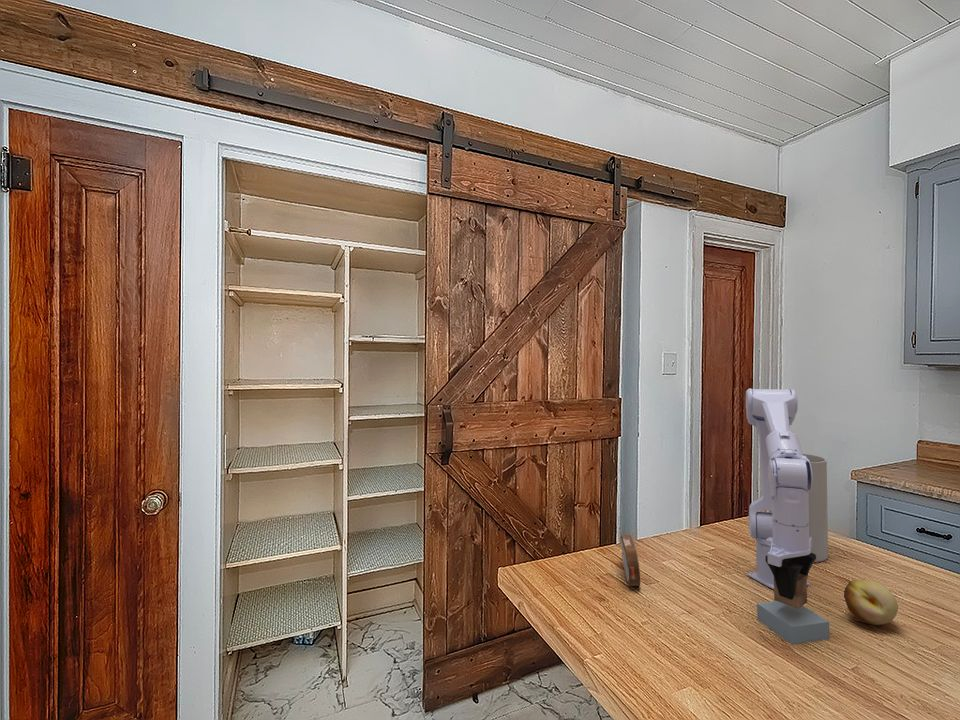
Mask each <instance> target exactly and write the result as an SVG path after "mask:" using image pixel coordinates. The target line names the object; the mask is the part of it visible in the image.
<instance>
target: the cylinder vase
mask: <svg viewBox="0 0 960 720" xmlns="http://www.w3.org/2000/svg"><path fill="white" fill-rule="evenodd" d="M802 454H803V456H806V458H807V459H809V461H810V464H811V468H812V474H813V483H812V489H811V490H808V488H807V489H806V490H807V491H808V502H809V503H808V505H809V537H812V547H811V553H813V554H815V555H816V560H815V561H814V562H813V563H820V562H823V561H825V560H827V559H828V558H829V533H828V531H829V525H828V523H829V522H828V469H827V468H828V466H827V464H828V461H827V458H825V457H822V456H818V455H814V454H808V453H802ZM768 511H769V512H768V513H772V511H770V510H768Z"/></svg>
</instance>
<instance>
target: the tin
mask: <svg viewBox="0 0 960 720" xmlns="http://www.w3.org/2000/svg"><path fill="white" fill-rule="evenodd" d="M620 542H621V560H622V565H623V570H624V575H625V579H626V583H627V586H629V587H631V586H632V587H641V573H640V572H641V571H640V563H639V558H638V550H637V547H636V545H635V542H634V539H633V536H632V534H629V535H621V536H620Z"/></svg>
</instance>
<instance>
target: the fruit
mask: <svg viewBox="0 0 960 720" xmlns="http://www.w3.org/2000/svg"><path fill="white" fill-rule="evenodd" d="M843 599H844V602H845V604H846V606H847V609H848V611H849V612H850V613H851V614H852V615H853V616H854V617H855V618H856V619H858V620H859V621H860V622H863V623H865V624H868V625H873V626H881V625H887V624H889V623H891V622H892V621H893V620H894V619H895V618H896V616H897V614H898V610H899V605H898V601H897V598H896V597H895V595H894V594H893V592H891V591H890V589H888V588H887V587H886V586H885V585H882V584H881V583H880V582H879V583H878V582H877V581H874V580H869V579H852V580H850V581H849V582H848V583H847V584H846V586H845V588H844V590H843Z"/></svg>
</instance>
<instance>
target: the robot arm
mask: <svg viewBox="0 0 960 720" xmlns="http://www.w3.org/2000/svg"><path fill="white" fill-rule="evenodd" d="M798 401H799V400H798V394H797V391H795V390H794V388H789V389H785V388H784V389H779V388H777V389H776V388H774V389H771V388H770V389H769V388H765V389H762V388H747V390H746V391H745V409H746V410H745V413H746V419H747V423H748V424H749V425H751V426H753V427H755V428H756V432H757V434H758V445H759V462H760V463H759V464H760V481H761V482H760V483H761V484H760V485H761V497H759V498H758V499H755V500H754V501H752V502H750V505H749V507H748V531H749V536H750V537H751V538H752V539H754V540H755V541H756V542H755V546H756V547H755V549H756V550H755V551H756V555H755V557H756V561H755V562H756V571H752V572H748V573H747V576H748V577H750V578H752V579H754V580H755V581H757V582H759V583H761V584H763V585H764V586H766V587H769V589H772V590H773V591H774V578H775V582H776V585H777V589H778V592H779V595H780V596H782V597H785V598H788V599H790V600H792V599H793V597H794V594H795V587H796V581H797V577H798V574H799V573H800V574H803V575H806V576H807V577H808V576H809V573H810V569H811V568H812V565H813V564H814V563H815V562H814V561H815V560H816V555H815V554H813V553H811V547H812V537H809V505H808V503H809V502H808V491H807V490H806V489H807V488H808V490H811V489H812V483H813V474H812V468H811V464H810V461H809V459H807V458H806V456H803V454H804V453H803V450H802V447H801V443H800V440H799V437H798V436H797V434H795V433H794V432H792V431H791V428H790V426H792V425H793V422H794V420H795V418H796V416H797V413H798V410H799V408H798V407H799V402H798ZM763 510H764V511H763ZM769 510H770V511H772V513H769V512H767V511H769ZM765 511H766V512H765ZM808 586H810V582H808V581H807V587H808Z"/></svg>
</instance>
